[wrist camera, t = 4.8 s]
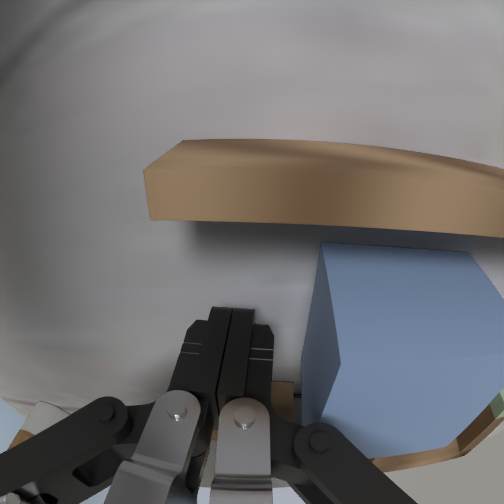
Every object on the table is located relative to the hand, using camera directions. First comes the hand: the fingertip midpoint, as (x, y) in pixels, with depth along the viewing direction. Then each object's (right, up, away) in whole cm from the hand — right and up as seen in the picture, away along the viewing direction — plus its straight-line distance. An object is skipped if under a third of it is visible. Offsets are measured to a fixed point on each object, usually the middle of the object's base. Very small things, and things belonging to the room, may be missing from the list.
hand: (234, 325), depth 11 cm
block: (+6, 0, 0) cm, 6 cm away
